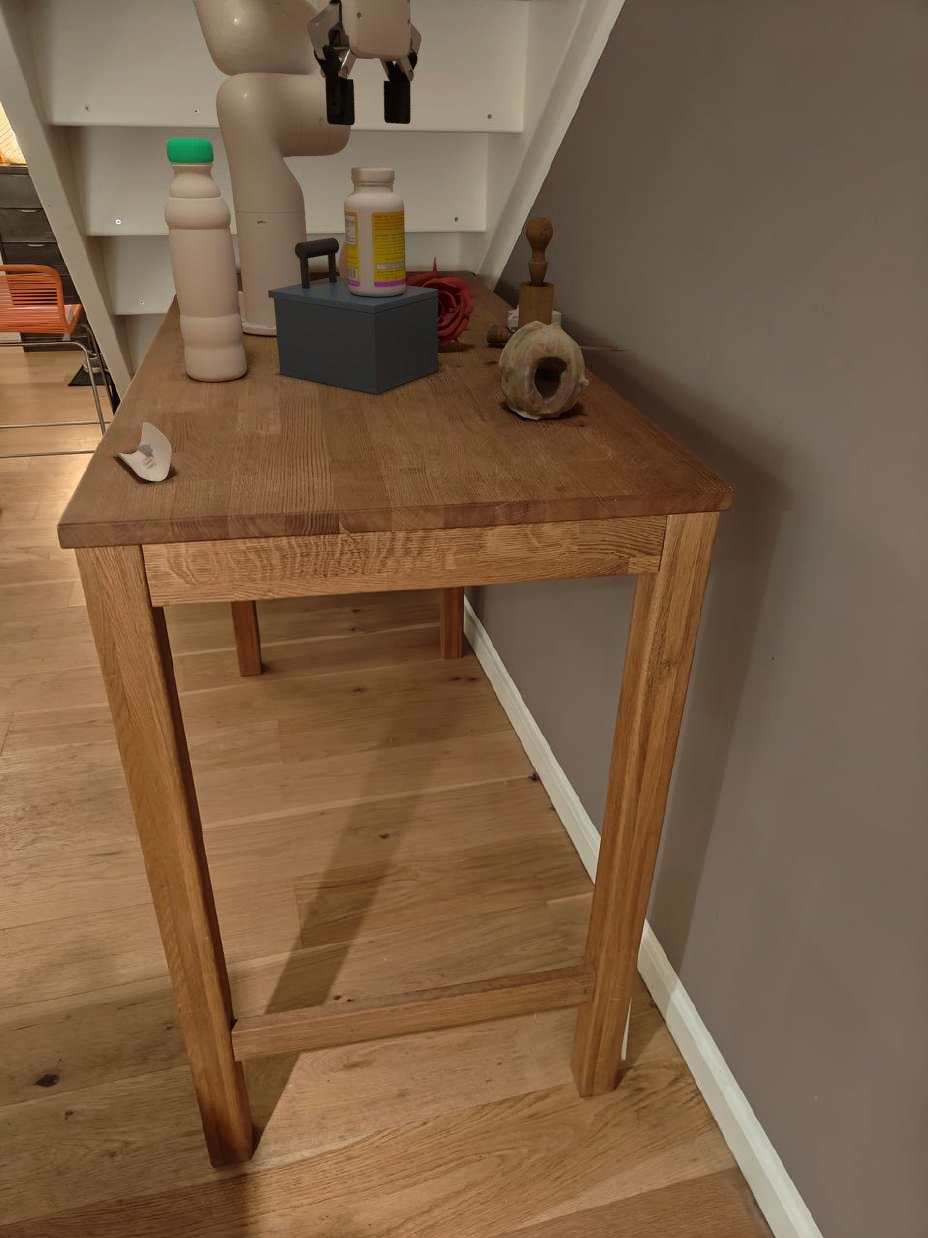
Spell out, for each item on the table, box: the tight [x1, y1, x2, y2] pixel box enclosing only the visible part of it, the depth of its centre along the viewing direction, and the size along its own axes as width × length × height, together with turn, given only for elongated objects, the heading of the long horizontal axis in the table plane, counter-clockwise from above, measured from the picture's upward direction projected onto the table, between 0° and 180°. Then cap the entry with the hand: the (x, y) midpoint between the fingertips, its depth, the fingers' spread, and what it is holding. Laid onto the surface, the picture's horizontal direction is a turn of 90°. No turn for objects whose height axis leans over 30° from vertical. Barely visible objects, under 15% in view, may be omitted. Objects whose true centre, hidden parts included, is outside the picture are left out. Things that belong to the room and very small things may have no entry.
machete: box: [486, 322, 629, 353], centre depth 120 cm, size 21×3×5 cm
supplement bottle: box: [343, 166, 407, 297], centre depth 98 cm, size 7×7×13 cm
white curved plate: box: [109, 421, 173, 482], centre depth 78 cm, size 4×8×3 cm
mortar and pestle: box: [518, 217, 555, 330], centre depth 101 cm, size 7×6×18 cm
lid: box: [268, 237, 438, 313], centre depth 102 cm, size 15×13×6 cm
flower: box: [406, 256, 482, 350], centre depth 126 cm, size 13×12×30 cm
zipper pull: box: [506, 304, 562, 333], centre depth 125 cm, size 8×18×4 cm, turn 168°
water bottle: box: [163, 137, 248, 383], centre depth 99 cm, size 7×7×25 cm
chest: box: [274, 297, 439, 395], centre depth 106 cm, size 15×13×9 cm
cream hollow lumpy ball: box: [498, 321, 590, 421], centre depth 93 cm, size 9×8×10 cm
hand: (370, 123), depth 93 cm, fingers open, 9 cm apart
